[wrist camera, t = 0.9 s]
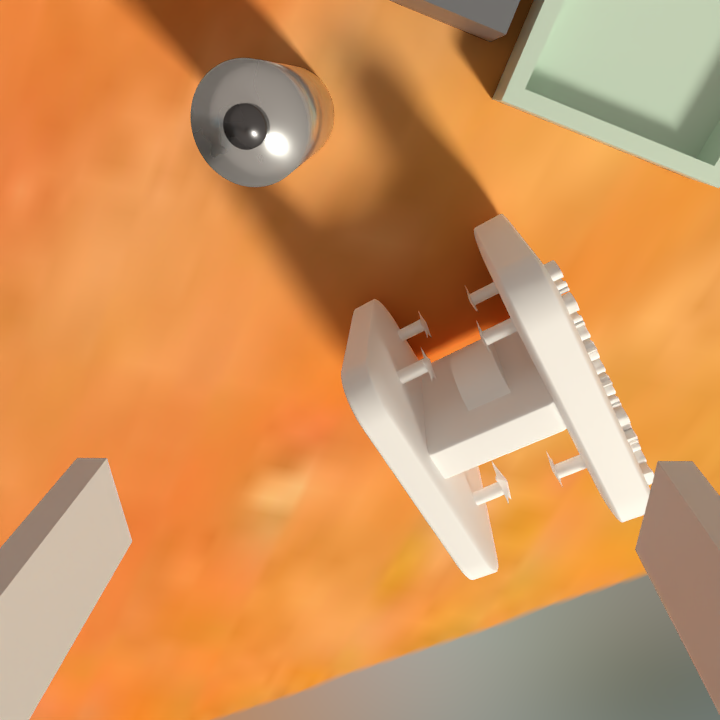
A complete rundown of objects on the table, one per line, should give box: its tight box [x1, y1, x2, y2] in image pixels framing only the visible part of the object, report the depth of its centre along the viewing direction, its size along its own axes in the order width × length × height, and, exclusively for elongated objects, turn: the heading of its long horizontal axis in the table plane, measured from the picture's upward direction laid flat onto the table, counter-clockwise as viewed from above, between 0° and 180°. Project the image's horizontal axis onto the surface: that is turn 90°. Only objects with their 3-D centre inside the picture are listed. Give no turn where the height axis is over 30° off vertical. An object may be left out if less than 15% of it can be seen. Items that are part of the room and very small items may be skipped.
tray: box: [492, 0, 720, 188], centre depth 25 cm, size 12×12×3 cm
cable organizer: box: [341, 214, 654, 580], centre depth 30 cm, size 15×11×12 cm
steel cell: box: [191, 58, 334, 187], centre depth 25 cm, size 5×5×10 cm
